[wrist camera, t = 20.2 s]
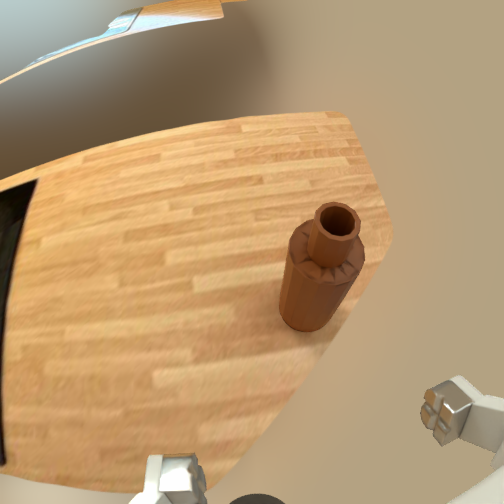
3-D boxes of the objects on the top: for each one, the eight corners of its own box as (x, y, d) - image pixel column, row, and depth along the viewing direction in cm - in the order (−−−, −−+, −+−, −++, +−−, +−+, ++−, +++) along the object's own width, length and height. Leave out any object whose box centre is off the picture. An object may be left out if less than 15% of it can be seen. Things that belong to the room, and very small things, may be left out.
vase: (340, 322, 35) (394, 246, 21) (289, 338, 35) (313, 270, 20) (321, 275, 39) (355, 181, 24) (272, 289, 38) (281, 196, 23)
